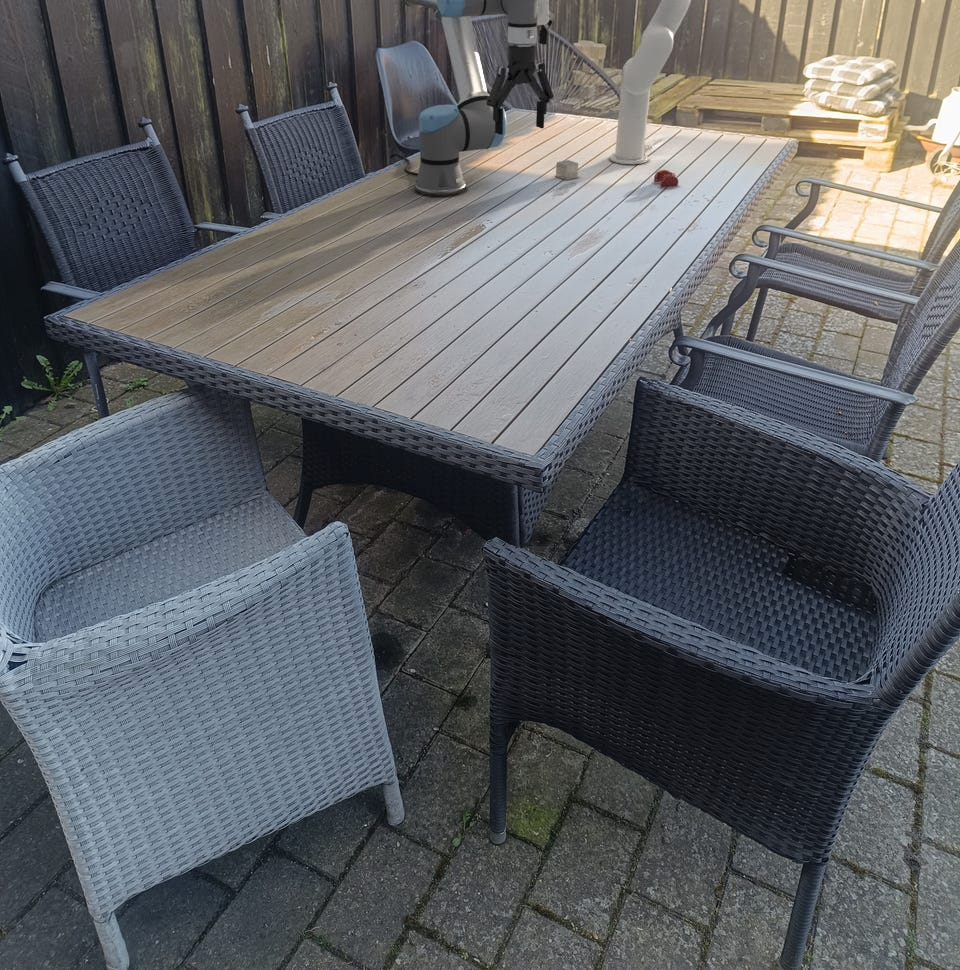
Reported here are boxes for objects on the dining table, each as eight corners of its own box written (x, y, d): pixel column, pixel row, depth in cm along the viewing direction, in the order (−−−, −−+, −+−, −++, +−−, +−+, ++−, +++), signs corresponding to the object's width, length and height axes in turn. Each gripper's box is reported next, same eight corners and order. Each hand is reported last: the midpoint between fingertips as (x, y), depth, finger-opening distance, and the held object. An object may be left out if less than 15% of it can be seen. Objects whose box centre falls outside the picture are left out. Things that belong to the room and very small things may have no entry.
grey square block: (565, 180, 267) (566, 165, 264) (555, 176, 270) (556, 162, 268) (577, 177, 269) (578, 163, 267) (567, 173, 273) (568, 159, 270)
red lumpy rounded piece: (669, 166, 264) (680, 173, 258) (668, 179, 266) (679, 187, 260) (653, 168, 263) (663, 175, 257) (652, 181, 265) (662, 189, 259)
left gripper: (489, 50, 212) (488, 139, 224) (569, 42, 222) (564, 127, 235) (473, 46, 217) (474, 133, 229) (552, 38, 227) (548, 122, 240)
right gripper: (517, -14, 253) (516, 49, 263) (562, -18, 261) (559, 44, 271) (503, -16, 258) (502, 46, 268) (547, -20, 266) (544, 41, 276)
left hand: (519, 130), depth 232 cm, fingers open, 13 cm apart
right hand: (531, 45), depth 269 cm, fingers open, 9 cm apart
